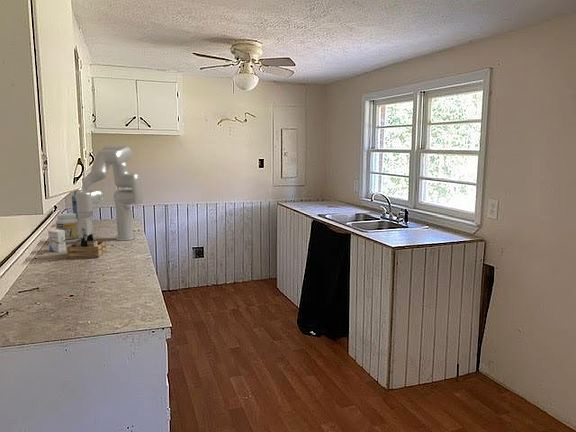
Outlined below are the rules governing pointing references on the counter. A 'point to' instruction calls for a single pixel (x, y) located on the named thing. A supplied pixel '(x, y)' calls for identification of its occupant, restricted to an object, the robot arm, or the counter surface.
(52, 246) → the ink box
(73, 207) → the bottle
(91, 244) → the small crate
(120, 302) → the counter surface
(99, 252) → the crate
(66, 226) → the supplement tub
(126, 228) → the robot arm
